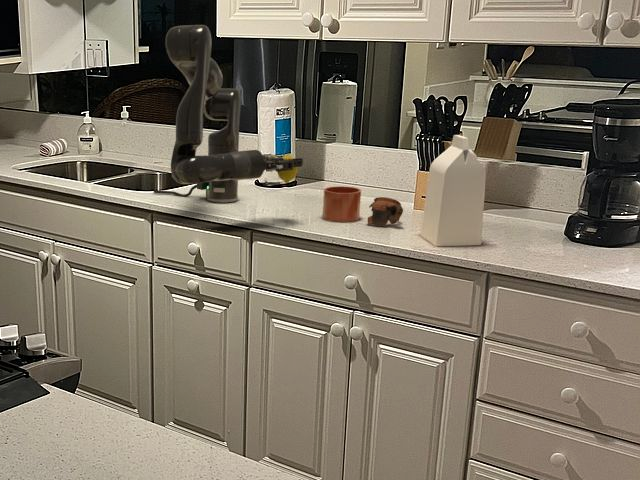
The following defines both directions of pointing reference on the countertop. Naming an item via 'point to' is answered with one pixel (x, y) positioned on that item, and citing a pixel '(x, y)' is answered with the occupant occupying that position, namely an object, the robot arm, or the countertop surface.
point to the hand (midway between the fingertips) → (295, 160)
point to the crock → (341, 204)
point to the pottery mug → (385, 211)
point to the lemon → (288, 171)
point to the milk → (454, 197)
